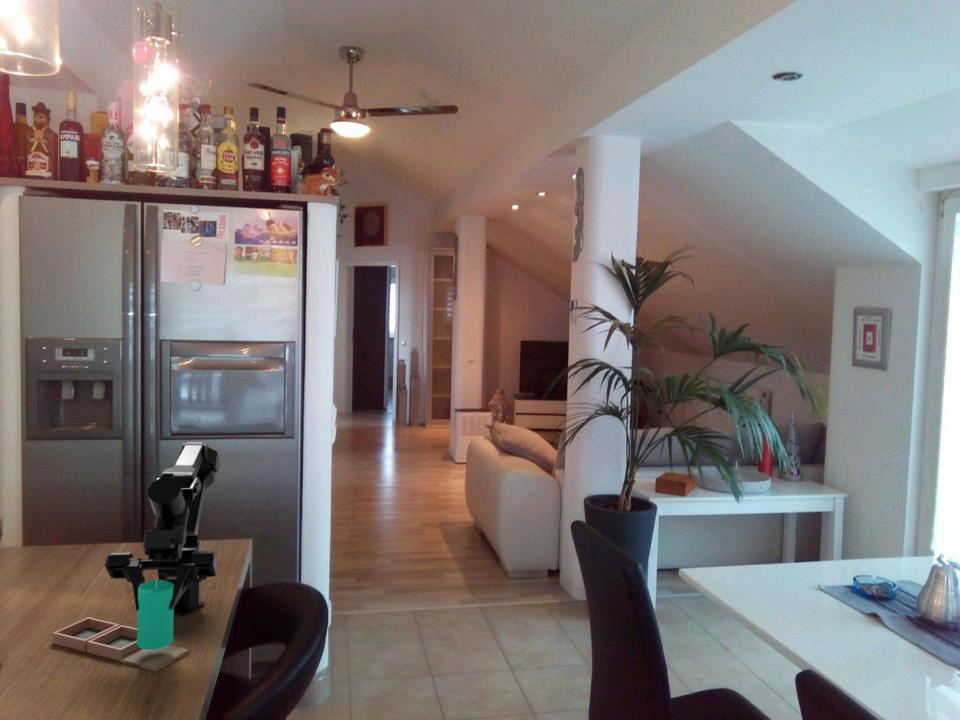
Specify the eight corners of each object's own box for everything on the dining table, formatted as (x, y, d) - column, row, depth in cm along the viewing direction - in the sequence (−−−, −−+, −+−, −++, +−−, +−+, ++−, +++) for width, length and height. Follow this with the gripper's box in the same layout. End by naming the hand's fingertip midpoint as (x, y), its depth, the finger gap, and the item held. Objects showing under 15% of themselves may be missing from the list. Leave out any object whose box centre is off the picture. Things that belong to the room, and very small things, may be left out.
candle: (136, 637, 136) (137, 573, 135) (171, 632, 138) (173, 570, 138) (137, 651, 130) (138, 585, 130) (174, 646, 133) (175, 581, 132)
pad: (188, 652, 137) (188, 649, 137) (156, 671, 129) (156, 668, 129) (154, 644, 140) (154, 641, 140) (120, 662, 132) (120, 659, 132)
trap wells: (154, 642, 140) (154, 632, 140) (120, 660, 133) (120, 650, 133) (88, 627, 146) (88, 617, 146) (52, 643, 138) (52, 633, 138)
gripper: (108, 509, 135) (87, 592, 125) (215, 509, 138) (203, 589, 128) (121, 538, 143) (102, 617, 133) (222, 536, 147) (210, 614, 137)
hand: (154, 609), depth 133 cm, fingers closed on candle, 5 cm apart
